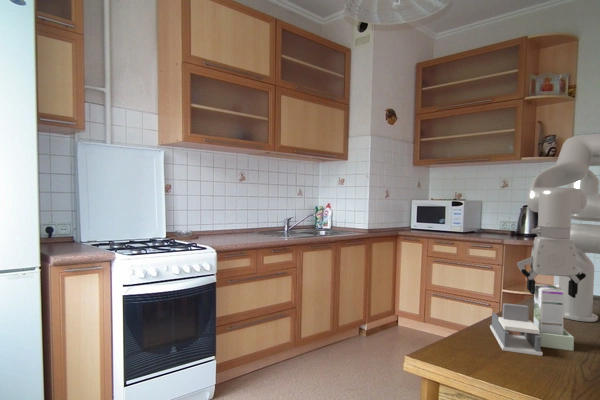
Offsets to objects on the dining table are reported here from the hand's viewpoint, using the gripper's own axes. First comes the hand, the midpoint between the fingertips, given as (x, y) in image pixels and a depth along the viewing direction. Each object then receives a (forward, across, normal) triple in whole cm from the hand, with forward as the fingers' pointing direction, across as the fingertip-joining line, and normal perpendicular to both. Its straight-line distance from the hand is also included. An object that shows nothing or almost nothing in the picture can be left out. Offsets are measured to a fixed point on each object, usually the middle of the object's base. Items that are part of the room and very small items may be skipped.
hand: (551, 294), depth 105 cm
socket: (+13, -1, -1) cm, 13 cm away
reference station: (+13, -10, -3) cm, 16 cm away
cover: (+8, -10, -7) cm, 14 cm away
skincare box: (+16, +21, +57) cm, 63 cm away
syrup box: (+12, -1, -1) cm, 12 cm away
